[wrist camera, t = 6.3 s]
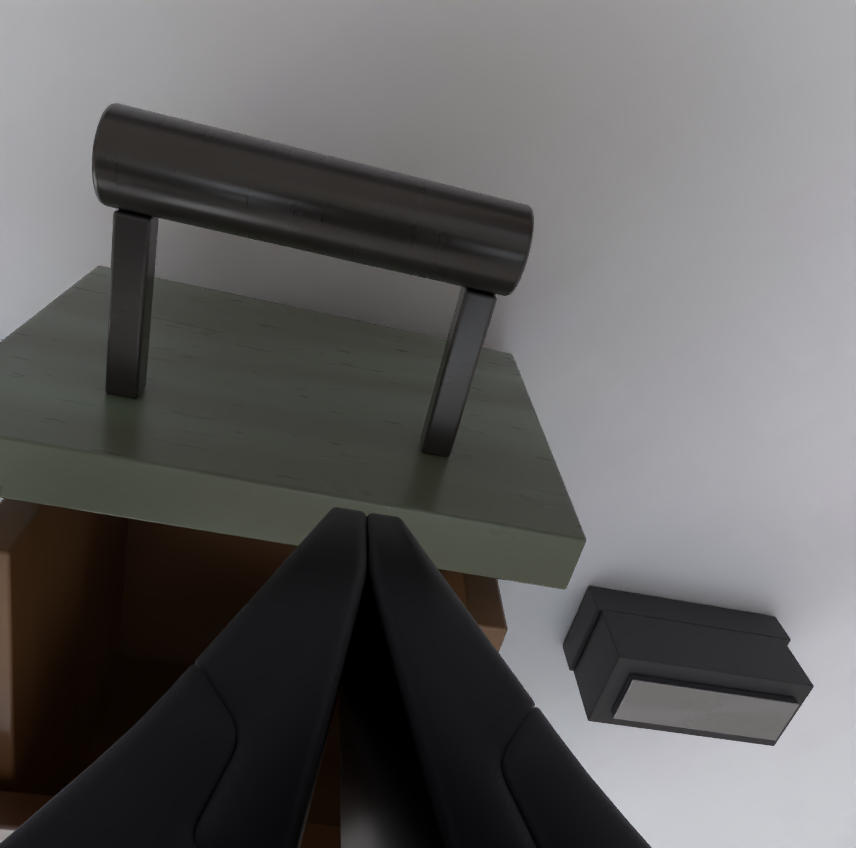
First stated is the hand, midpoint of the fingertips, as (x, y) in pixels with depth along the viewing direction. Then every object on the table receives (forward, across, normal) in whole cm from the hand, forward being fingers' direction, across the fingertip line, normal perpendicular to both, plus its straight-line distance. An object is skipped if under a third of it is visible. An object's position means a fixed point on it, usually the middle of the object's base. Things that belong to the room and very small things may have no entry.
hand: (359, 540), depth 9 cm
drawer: (+12, +1, +6) cm, 13 cm away
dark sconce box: (+13, -14, +12) cm, 22 cm away
